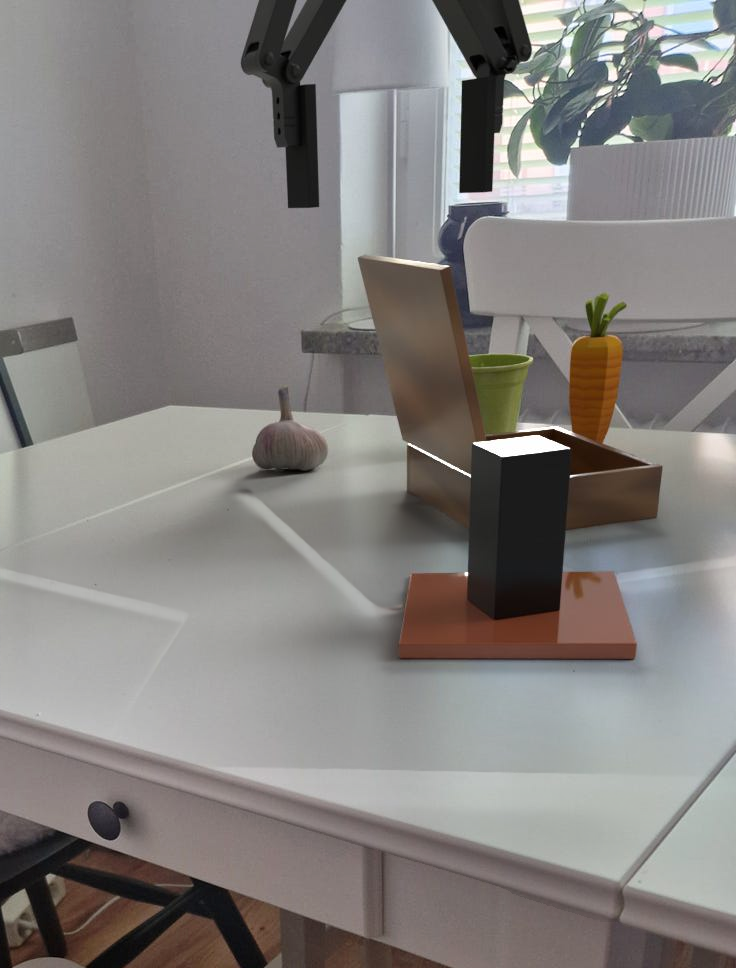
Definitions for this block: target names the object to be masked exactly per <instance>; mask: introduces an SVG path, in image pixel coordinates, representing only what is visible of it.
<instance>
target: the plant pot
mask: <svg viewBox="0 0 736 968" xmlns="http://www.w3.org/2000/svg"><path fill="white" fill-rule="evenodd" d="M469 358H470V363H471V368H472V372H473V377H474V382H475V387H476V392H477V396H478V401H479V406H480V411H481V416H482V420H483V425H484V430H485V435H488V434H497V433H505V432H514V431H517V425H518V424H517V423H518V418H519V411H520V408H521V406H520V405H521V401H522V396H523V389H524V383H525V381H526V379H527V377H528V374H529V373H528V372H529V367H530V366H531V365H532V364H533V363H534V357H532V356H531V355H524V354H518V353H483V354H481V353H480V354H469Z"/></svg>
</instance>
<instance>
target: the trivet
mask: <svg viewBox="0 0 736 968" xmlns="http://www.w3.org/2000/svg"><path fill="white" fill-rule="evenodd" d="M467 581H468V572H414V573H413V572H412V573H410V575H409V581H408V588H407V594H406V599H405V606H404V612H403V617H402V622H401V627H400V634H399V641H398V658H399V659H490V660H491V659H495V660H496V659H497V660H498V659H501V660H502V659H506V660H507V659H512V660H513V659H517V660H520V659H522V660H523V659H526V660H527V659H532V660H533V659H535V660H536V659H538V660H539V659H540V660H541V659H543V660H545V659H546V660H547V659H548V660H549V659H551V660H554V659H555V660H564V659H566V660H568V659H569V660H576V659H577V660H635V659H636V657H637V649H638V643H637V639H636V637H635V634H634V631H633V627H632V624H631V621H630V618H629V615H628V611H627V608H626V605H625V601H624V599H623V595H622V591H621V589H620V586H619V582H618V580H617V576H616V572H615V571H614V570H613V571H612V570H610V571H609V570H608V571H603V570H602V571H598V570H597V571H563V574H562V587H561V600H560V610H559V611H553V612H546V613H539V614H532V615H526V616H519V617H512V618H506V619H499V620H494V619H493V618H491V617H490V616H489V615H487V614H486V613H485V612H483V611H482V610H481V609H479V608H478V607H477V606H475V605H474V604H473V603H471V602H470V601H469V600H467Z"/></svg>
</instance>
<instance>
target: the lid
mask: <svg viewBox="0 0 736 968" xmlns="http://www.w3.org/2000/svg"><path fill="white" fill-rule="evenodd" d="M357 262H358V266H359V271H360V274H361V277H362V282H363V286H364V290H365V295H366V299H367V302H368V306H369V310H370V313H371V314H370V315H371V318H372V323H373V327H374V330H375V334H376V338H377V342H378V348H379V351H380V355H381V358H382V359H381V360H382V363H383V366H384V370H385V374H386V379H387V383H388V387H389V391H390V394H391V399H392V403H393V406H394V411H395V415H396V419H397V423H398V427H399V430H400V435H401V439H402V441H403V442H406V443H407V444H411V445H413V446H415V447H417V448H419V449H421V450H423V451H425V452H427V453H429V454H431V455H432V456H434V457H436V458H438V459H440V460H442V461H444V462H446V463H448V464H450V465H452V466H454V467H456V468H458V469H459V470H461V471H463V472H465V473H467V474H469V475H471V455H472V443H479V442H487V440H486V435H485V430H484V425H483V420H482V416H481V411H480V406H479V401H478V396H477V392H476V387H475V382H474V377H473V372H472V368H471V363H470V358H469V355H470V354H469V349H468V344H467V340H466V335H465V330H464V325H463V320H462V315H461V310H460V305H459V302H458V296H457V292H456V291H457V290H456V287H455V282H454V277H453V272H452V267H451V266H450V265H444V264H438V263H430V262H422V261H415V260H410V259H402V258H395V257H388V256H380V255H374V254H367V253H366V254H362V255H360V256H358V257H357Z"/></svg>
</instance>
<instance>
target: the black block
mask: <svg viewBox="0 0 736 968" xmlns="http://www.w3.org/2000/svg"><path fill="white" fill-rule="evenodd" d="M571 452H572V449H571V448H568V447H566V446H563V445H561V444H558V443H556V442H553V441H551V440H548V439H546V438H543V437H541V436H538V435H537V436H529V437H521V438H512V439H504V440H495V441H487V442H479V443H472V455H471V487H470V518H469V529H468V548H467V549H468V550H467V551H468V553H467V557H468V558H467V573H468V581H467V600H469V601H470V602H471V603H473V604H474V605H475V606H477V607H478V608H479V609H481V610H482V611H483V612H485V613H486V614H487V615H489V616H490V617H491V618H493V619H494V620H499V619H506V618H512V617H519V616H526V615H532V614H539V613H546V612H553V611H559V610H560V600H561V587H562V574H563V572H564V561H565V560H564V559H565V558H564V557H565V545H566V534H567V533H566V532H567V530H566V520H567V506H568V493H569V479H570V466H571Z"/></svg>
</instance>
